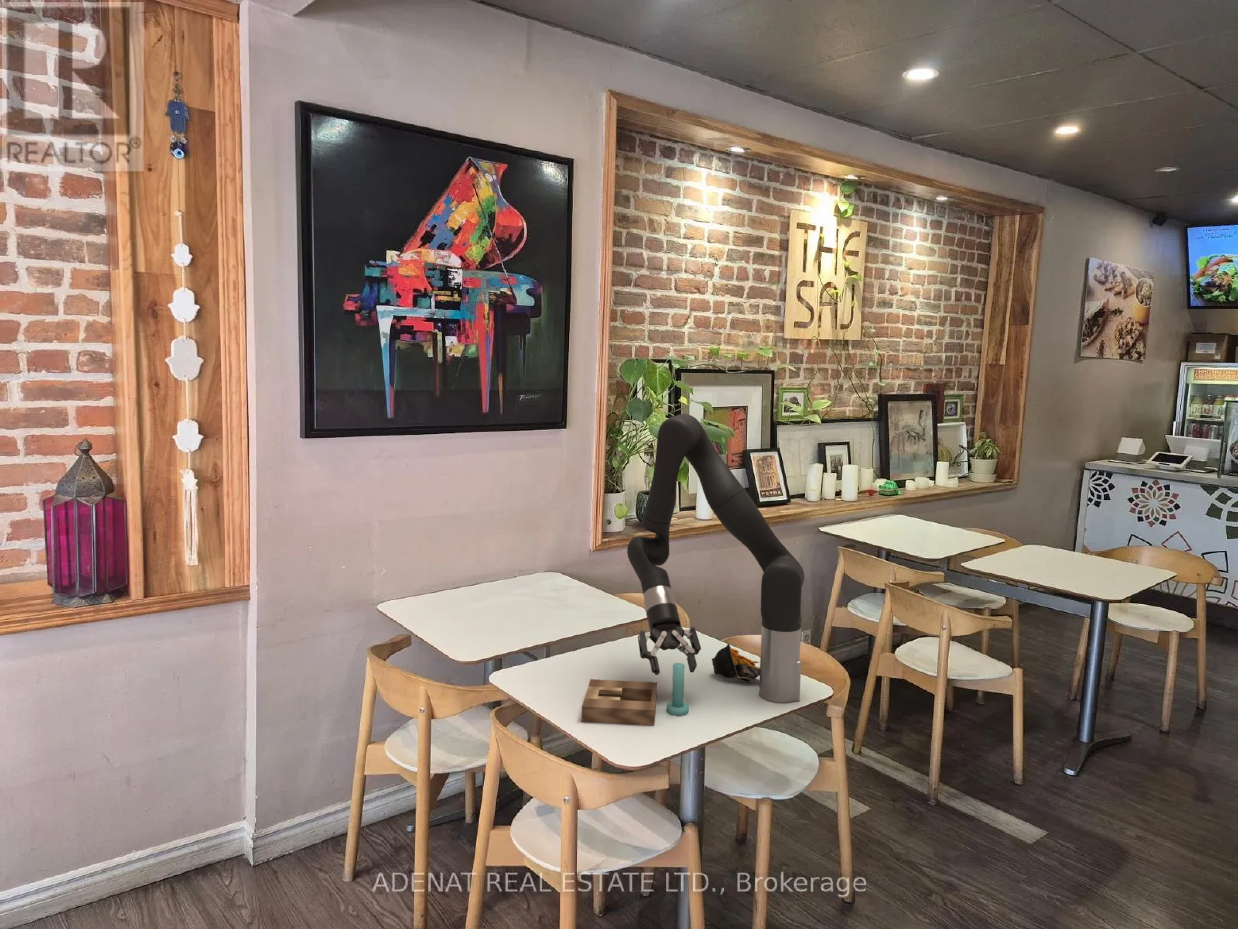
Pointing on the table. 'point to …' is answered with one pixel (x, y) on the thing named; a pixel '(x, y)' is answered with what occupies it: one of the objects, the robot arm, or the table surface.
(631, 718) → the keyhole plate
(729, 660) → the black fries container
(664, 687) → the table surface
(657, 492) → the robot arm
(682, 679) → the peg
